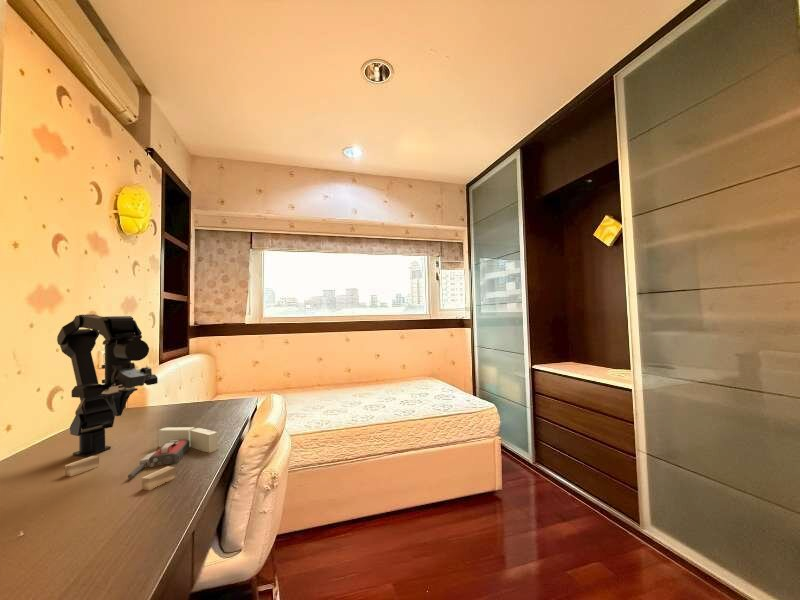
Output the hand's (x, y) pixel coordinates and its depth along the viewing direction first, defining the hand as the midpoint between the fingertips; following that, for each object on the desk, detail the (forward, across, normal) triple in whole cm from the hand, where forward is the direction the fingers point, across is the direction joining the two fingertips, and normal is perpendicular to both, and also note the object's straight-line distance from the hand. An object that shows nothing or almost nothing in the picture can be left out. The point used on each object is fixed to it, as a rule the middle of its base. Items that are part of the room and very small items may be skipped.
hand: (118, 415), depth 95 cm
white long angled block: (+12, +11, -12) cm, 21 cm away
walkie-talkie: (+13, +2, -15) cm, 20 cm away
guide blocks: (+12, -8, -12) cm, 19 cm away
